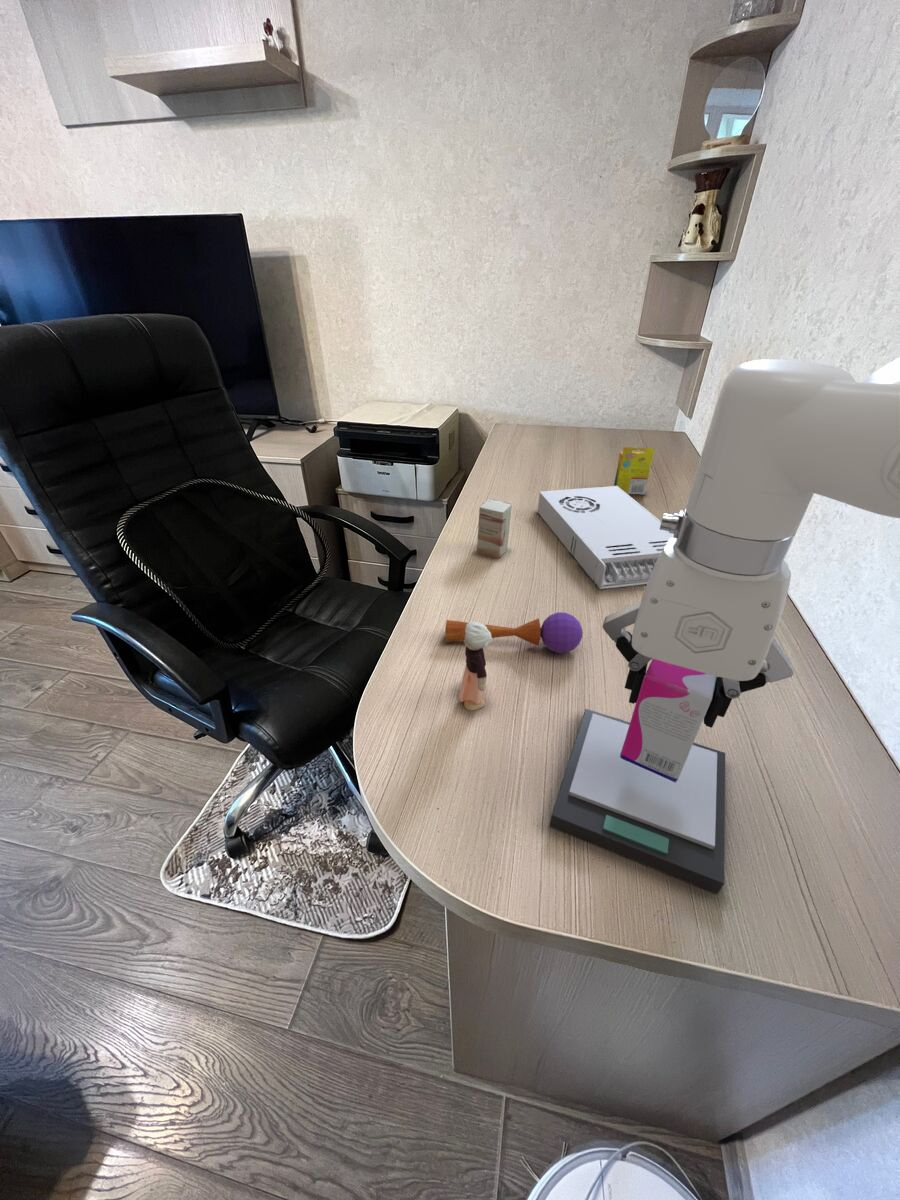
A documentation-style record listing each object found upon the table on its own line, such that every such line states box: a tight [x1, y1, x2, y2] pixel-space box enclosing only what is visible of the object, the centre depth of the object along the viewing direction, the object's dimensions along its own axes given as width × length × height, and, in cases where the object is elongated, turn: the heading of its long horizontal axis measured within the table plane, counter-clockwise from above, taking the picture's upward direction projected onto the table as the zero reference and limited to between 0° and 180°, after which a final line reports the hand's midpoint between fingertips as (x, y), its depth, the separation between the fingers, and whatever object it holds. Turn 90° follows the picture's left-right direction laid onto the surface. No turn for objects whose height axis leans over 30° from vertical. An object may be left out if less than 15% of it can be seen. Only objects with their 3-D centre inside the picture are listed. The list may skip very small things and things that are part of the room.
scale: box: [549, 708, 726, 895], centre depth 54 cm, size 16×16×3 cm
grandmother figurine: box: [458, 620, 493, 712], centre depth 63 cm, size 8×4×13 cm, turn 21°
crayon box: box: [613, 446, 655, 496], centre depth 122 cm, size 7×3×12 cm, turn 84°
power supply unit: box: [537, 485, 674, 590], centre depth 102 cm, size 19×33×5 cm, turn 11°
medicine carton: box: [476, 498, 513, 560], centre depth 97 cm, size 5×4×10 cm
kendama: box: [444, 611, 583, 654], centre depth 75 cm, size 6×6×20 cm
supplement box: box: [620, 659, 718, 783], centre depth 49 cm, size 6×6×12 cm
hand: (670, 703), depth 48 cm, fingers closed on supplement box, 6 cm apart
